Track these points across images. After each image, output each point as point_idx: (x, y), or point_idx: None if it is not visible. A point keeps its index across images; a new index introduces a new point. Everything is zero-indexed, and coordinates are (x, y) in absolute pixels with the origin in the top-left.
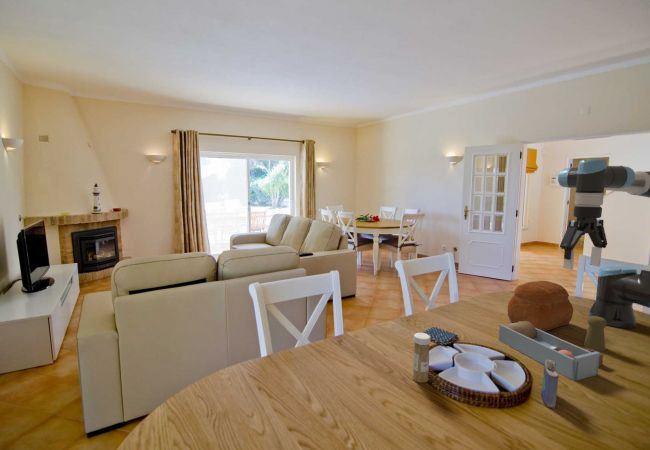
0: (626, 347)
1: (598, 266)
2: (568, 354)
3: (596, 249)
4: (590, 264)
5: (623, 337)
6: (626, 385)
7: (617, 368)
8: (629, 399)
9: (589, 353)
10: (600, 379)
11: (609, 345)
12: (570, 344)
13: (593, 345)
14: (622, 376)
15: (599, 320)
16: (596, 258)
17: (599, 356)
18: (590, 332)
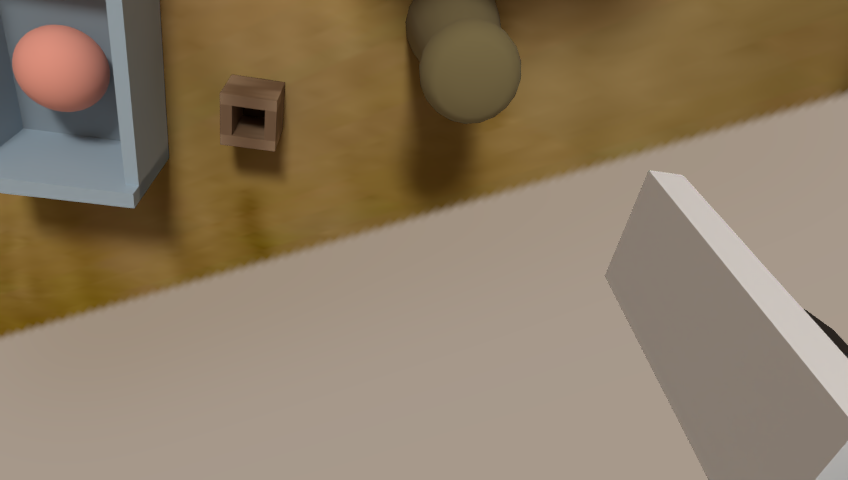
0: (589, 108)
1: (606, 275)
2: (37, 99)
3: (766, 459)
4: (650, 176)
5: (728, 50)
6: (200, 236)
7: (310, 172)
8: (113, 271)
9: (72, 190)
10: None
11: (545, 57)
12: (113, 71)
13: (411, 45)
14: (257, 205)
15: (440, 105)
16: (667, 323)
17: (140, 198)
18: (423, 39)
